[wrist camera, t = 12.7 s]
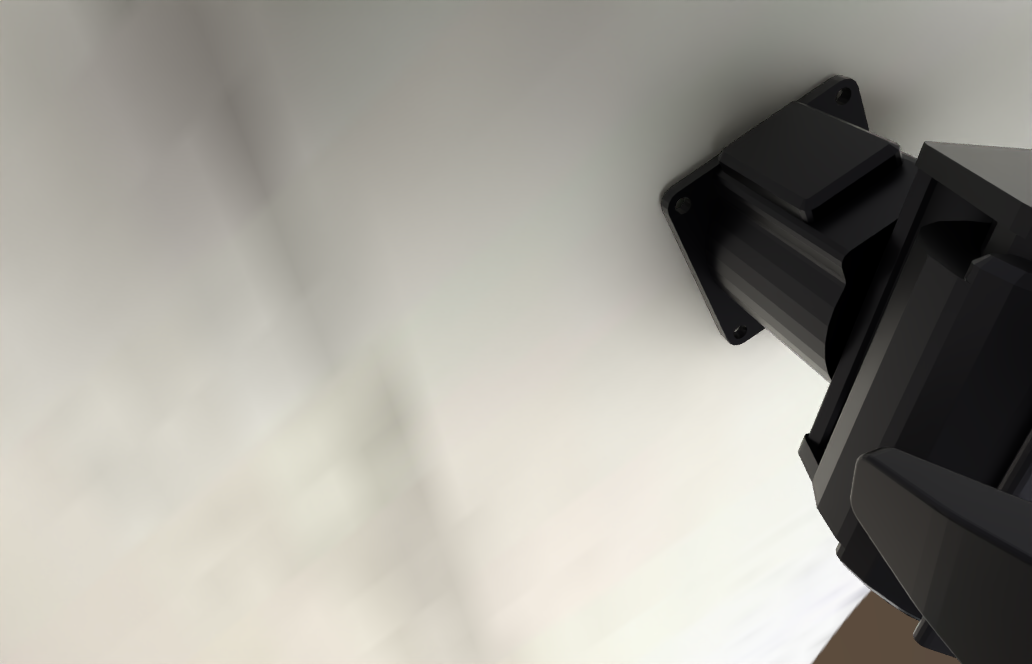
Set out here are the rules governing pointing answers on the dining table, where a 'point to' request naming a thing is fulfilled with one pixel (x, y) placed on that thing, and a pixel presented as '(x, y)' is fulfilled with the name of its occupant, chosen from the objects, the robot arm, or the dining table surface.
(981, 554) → the robot arm
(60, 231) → the dining table surface
